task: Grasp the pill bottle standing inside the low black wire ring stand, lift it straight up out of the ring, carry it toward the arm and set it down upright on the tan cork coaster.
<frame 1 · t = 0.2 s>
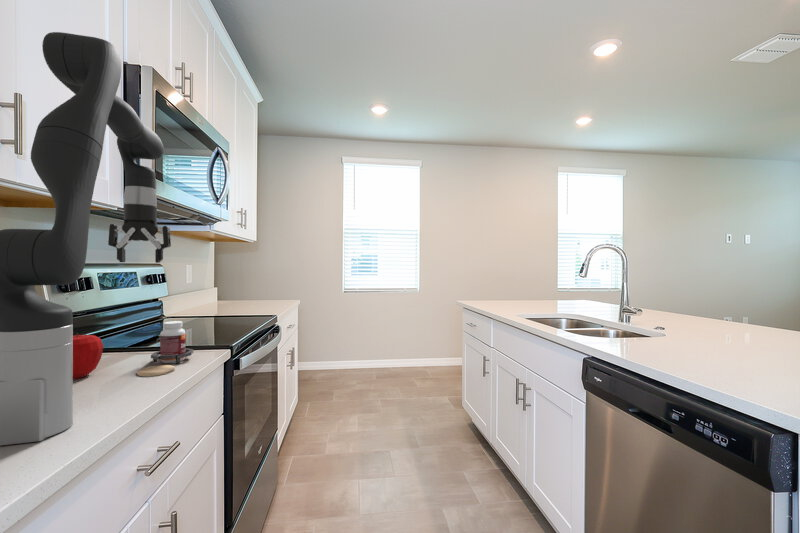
hand: (140, 262, 103), 28 cm above the table, fingers open, 8 cm apart
ring stand: (172, 360, 105), on the table
pill bottle: (172, 361, 105), on the table
cork coaster: (156, 371, 94), on the table
apple: (77, 377, 90), on the table
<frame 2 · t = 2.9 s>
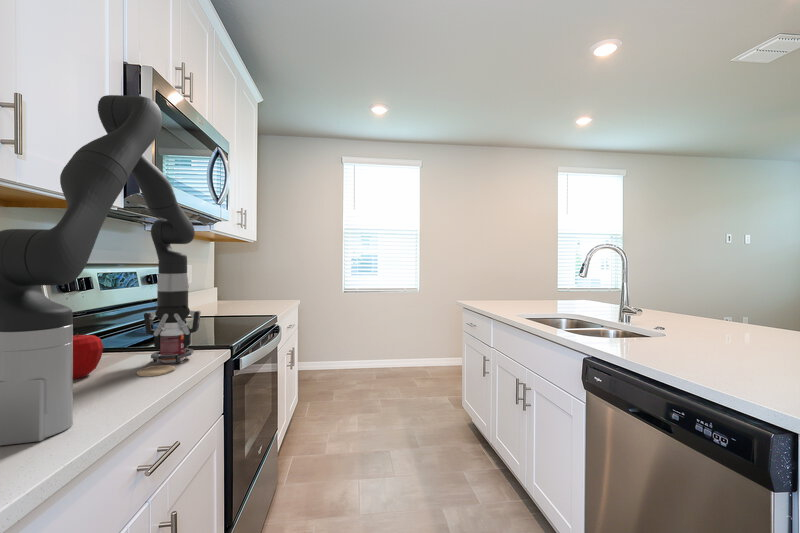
hand: (173, 347, 105), 4 cm above the table, fingers closed on pill bottle, 6 cm apart
pill bottle: (172, 361, 105), on the table, touching gripper
everything else where it was.
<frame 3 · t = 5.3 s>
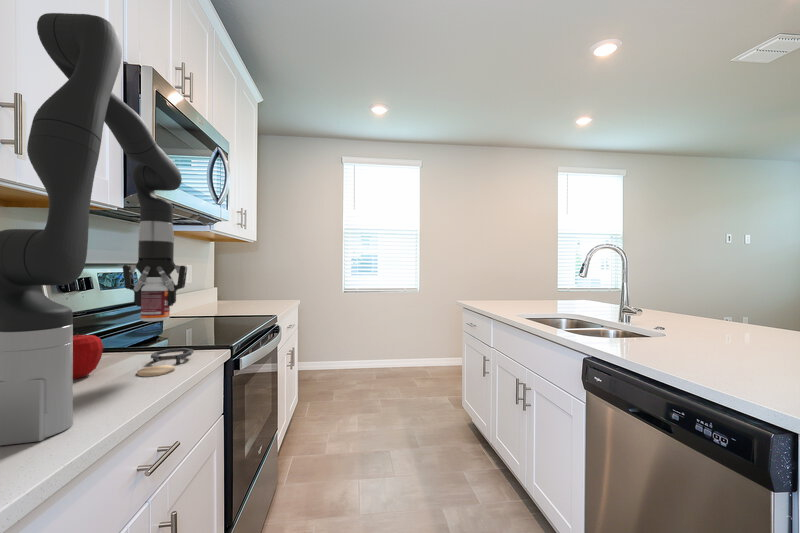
hand: (155, 305, 94), 17 cm above the table, fingers closed on pill bottle, 6 cm apart
pill bottle: (155, 321, 94), point 13 cm above the table, touching gripper
everything else where it was.
when the fingers open (5 cm above the table, at t = 8.2 s): pill bottle drops 1 cm, resting on cork coaster.
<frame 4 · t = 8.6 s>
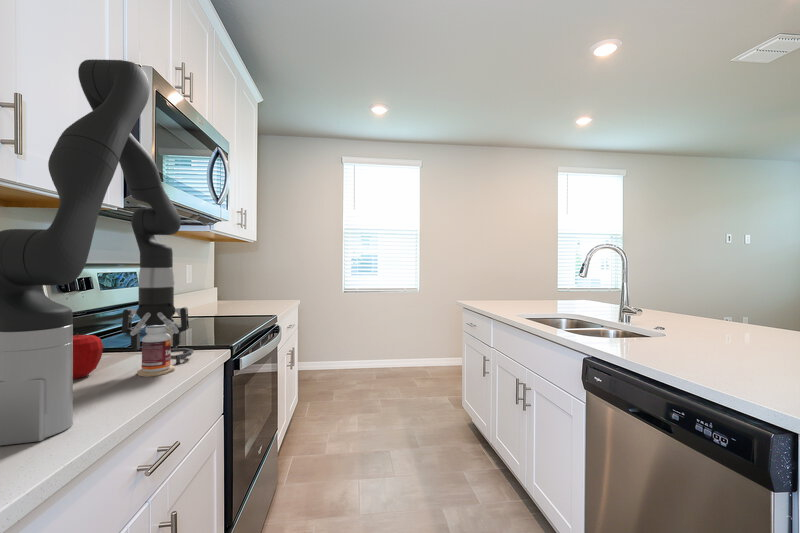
hand: (156, 348, 94), 6 cm above the table, fingers open, 8 cm apart
pill bottle: (156, 370, 94), resting on cork coaster
everything else where it was.
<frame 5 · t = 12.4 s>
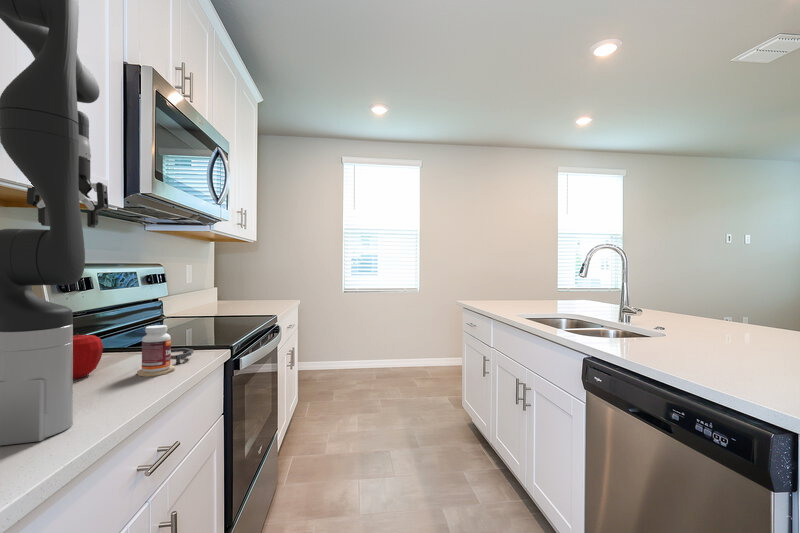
hand: (69, 226, 85), 36 cm above the table, fingers open, 8 cm apart
nothing on the table moved.
at the end: pill bottle 0.1 cm from the cork coaster (horizontally); pill bottle tilted 0°; pill bottle resting on cork coaster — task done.
